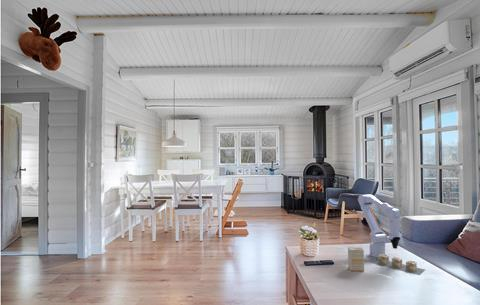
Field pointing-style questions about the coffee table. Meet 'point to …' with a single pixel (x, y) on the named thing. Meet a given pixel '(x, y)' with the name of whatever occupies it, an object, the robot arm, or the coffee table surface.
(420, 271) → the slate mat
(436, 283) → the coffee table surface
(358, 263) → the supplement box
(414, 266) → the three pip block
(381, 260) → the two pip block
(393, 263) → the plain block
